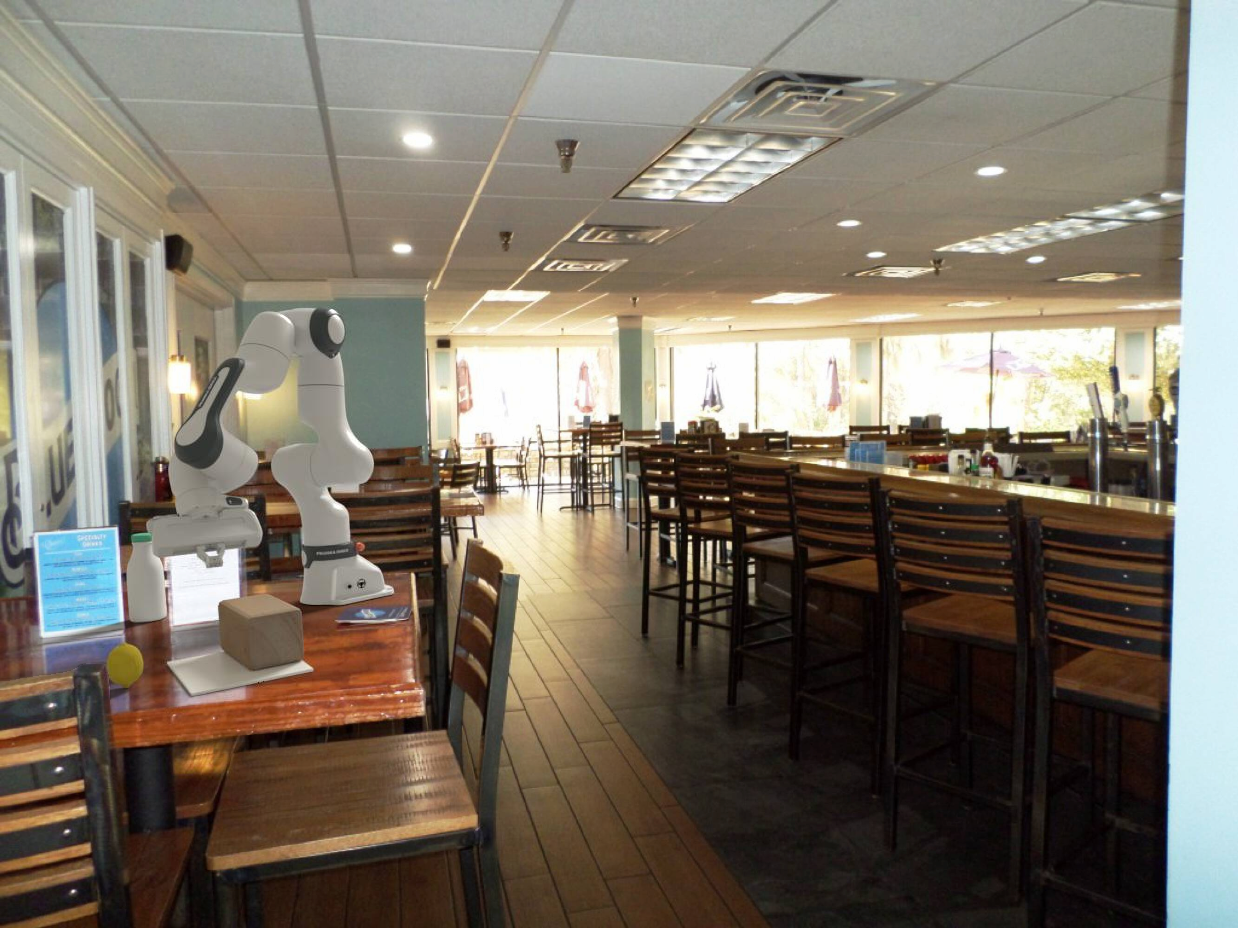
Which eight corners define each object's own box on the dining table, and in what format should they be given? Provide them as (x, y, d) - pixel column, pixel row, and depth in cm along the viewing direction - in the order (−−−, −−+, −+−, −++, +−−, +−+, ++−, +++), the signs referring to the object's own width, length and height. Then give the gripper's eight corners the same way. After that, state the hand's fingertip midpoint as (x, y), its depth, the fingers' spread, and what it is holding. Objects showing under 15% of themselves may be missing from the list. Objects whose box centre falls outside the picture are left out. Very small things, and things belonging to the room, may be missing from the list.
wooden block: (219, 650, 171) (250, 672, 155) (216, 600, 170) (246, 617, 155) (271, 640, 177) (306, 660, 162) (268, 592, 177) (303, 607, 161)
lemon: (151, 682, 153) (148, 637, 153) (132, 692, 148) (129, 646, 147) (121, 683, 154) (117, 638, 153) (101, 693, 148) (97, 647, 148)
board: (277, 644, 176) (277, 641, 176) (313, 671, 157) (313, 668, 157) (167, 664, 164) (167, 661, 164) (191, 696, 145) (191, 693, 145)
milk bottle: (168, 619, 201) (162, 533, 200) (130, 625, 197) (124, 537, 196) (165, 613, 208) (159, 530, 206) (128, 618, 204) (122, 533, 202)
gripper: (145, 507, 171) (157, 563, 164) (255, 497, 183) (270, 549, 176) (143, 527, 175) (155, 583, 168) (251, 517, 187) (265, 568, 180)
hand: (215, 565), depth 172 cm, fingers closed
